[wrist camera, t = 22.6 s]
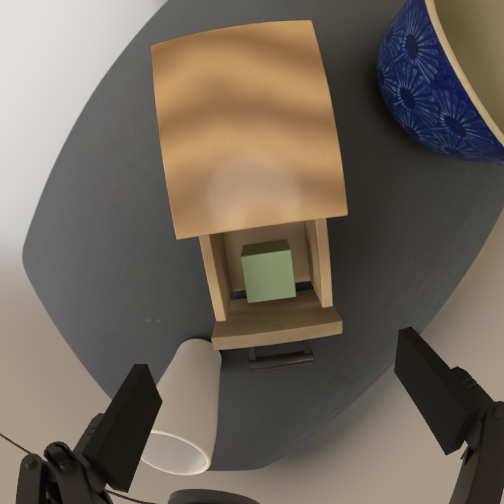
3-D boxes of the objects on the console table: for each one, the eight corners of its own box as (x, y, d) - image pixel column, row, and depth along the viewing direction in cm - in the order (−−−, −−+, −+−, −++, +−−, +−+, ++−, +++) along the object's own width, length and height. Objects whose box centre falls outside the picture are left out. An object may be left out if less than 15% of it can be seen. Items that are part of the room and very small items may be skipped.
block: (249, 286, 27) (247, 303, 23) (242, 245, 26) (239, 256, 22) (291, 280, 27) (296, 296, 23) (286, 239, 26) (291, 249, 22)
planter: (393, 187, 26) (497, 201, 11) (327, 41, 22) (374, -47, 8) (489, 148, 24) (578, 148, 9) (436, 27, 20) (505, -19, 6)
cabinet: (320, 203, 27) (348, 215, 18) (202, 220, 28) (176, 239, 19) (296, 63, 23) (311, 19, 15) (181, 81, 24) (150, 45, 15)
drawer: (326, 334, 29) (342, 375, 22) (231, 347, 30) (224, 390, 23) (310, 162, 25) (329, 156, 18) (199, 178, 26) (177, 178, 19)
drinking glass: (163, 336, 31) (112, 429, 16) (217, 325, 30) (189, 429, 16) (185, 380, 33) (153, 475, 18) (236, 371, 32) (224, 475, 17)
